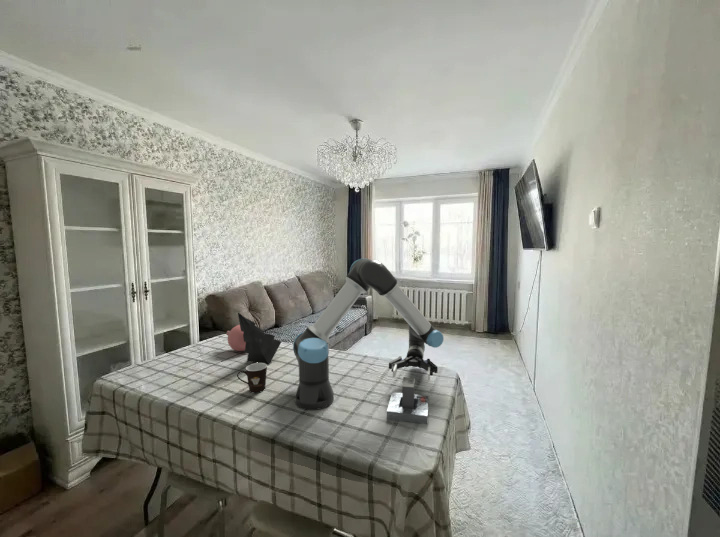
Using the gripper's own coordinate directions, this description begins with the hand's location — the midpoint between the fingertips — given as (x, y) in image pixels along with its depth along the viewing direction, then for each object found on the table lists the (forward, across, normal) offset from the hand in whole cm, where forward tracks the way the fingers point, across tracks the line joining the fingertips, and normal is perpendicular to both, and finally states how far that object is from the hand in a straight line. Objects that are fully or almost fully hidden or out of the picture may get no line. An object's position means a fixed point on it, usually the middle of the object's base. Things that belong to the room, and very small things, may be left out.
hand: (411, 375), depth 121 cm
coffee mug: (+7, +66, -10) cm, 67 cm away
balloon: (-35, +103, -10) cm, 110 cm away
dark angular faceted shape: (-19, +81, -10) cm, 84 cm away
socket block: (+9, 0, -10) cm, 13 cm away
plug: (+9, 0, -9) cm, 13 cm away
